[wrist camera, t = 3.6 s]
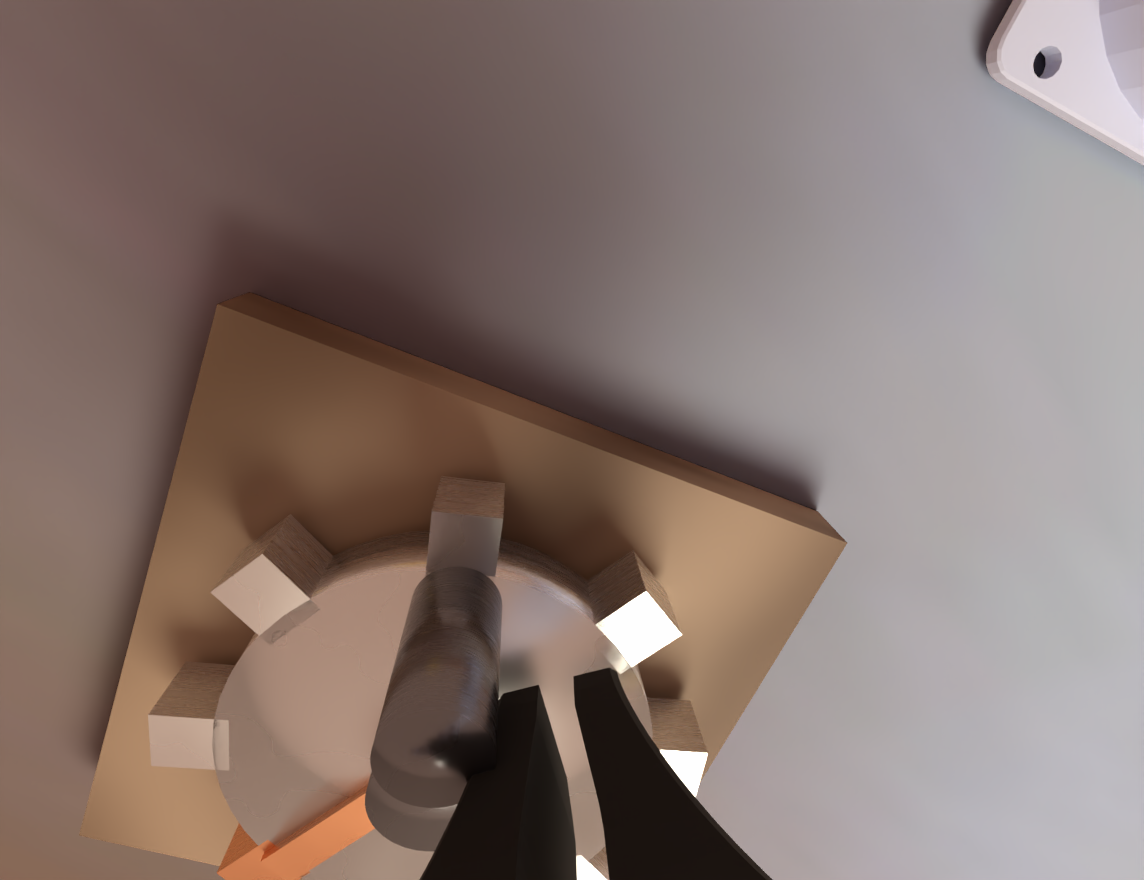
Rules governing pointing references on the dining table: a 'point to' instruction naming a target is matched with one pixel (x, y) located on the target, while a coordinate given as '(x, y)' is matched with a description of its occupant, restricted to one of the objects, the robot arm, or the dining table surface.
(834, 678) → the dining table surface
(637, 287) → the dining table surface
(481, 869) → the robot arm
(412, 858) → the sprocket
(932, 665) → the dining table surface
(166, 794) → the index board
